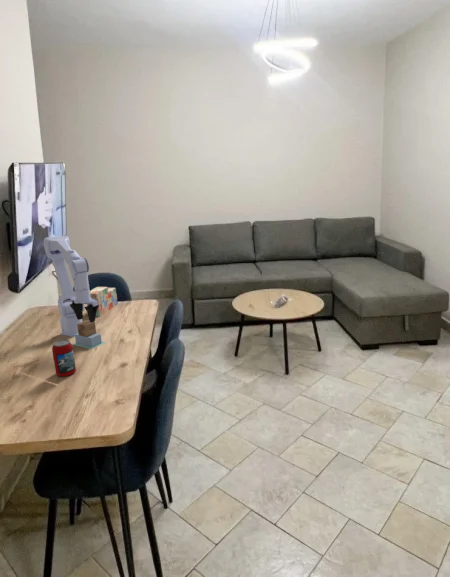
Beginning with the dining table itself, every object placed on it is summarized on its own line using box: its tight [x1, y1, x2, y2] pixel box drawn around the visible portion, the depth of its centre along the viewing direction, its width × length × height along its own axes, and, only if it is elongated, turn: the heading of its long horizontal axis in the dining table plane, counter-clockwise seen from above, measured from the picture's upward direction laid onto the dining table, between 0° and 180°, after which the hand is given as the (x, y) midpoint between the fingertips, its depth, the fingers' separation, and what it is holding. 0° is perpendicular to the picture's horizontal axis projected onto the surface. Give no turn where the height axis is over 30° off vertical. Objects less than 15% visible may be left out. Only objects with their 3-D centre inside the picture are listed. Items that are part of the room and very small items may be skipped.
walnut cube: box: [77, 319, 97, 337], centre depth 179 cm, size 5×5×5 cm
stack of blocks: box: [86, 286, 118, 318], centre depth 226 cm, size 21×6×12 cm, turn 169°
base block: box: [74, 332, 102, 347], centre depth 180 cm, size 10×5×4 cm, turn 57°
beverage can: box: [51, 339, 77, 378], centre depth 153 cm, size 7×7×12 cm
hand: (86, 320), depth 179 cm, fingers open, 7 cm apart
